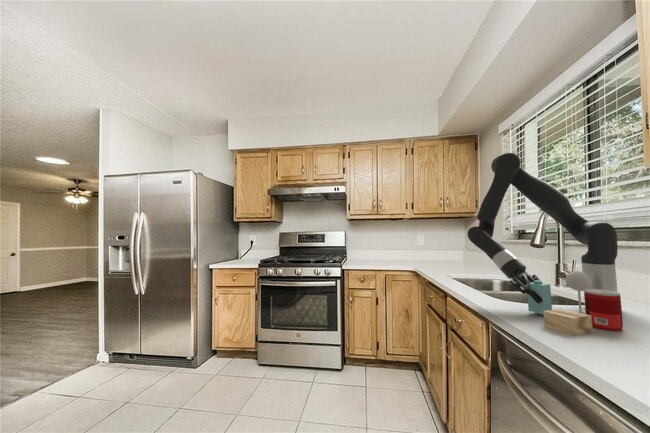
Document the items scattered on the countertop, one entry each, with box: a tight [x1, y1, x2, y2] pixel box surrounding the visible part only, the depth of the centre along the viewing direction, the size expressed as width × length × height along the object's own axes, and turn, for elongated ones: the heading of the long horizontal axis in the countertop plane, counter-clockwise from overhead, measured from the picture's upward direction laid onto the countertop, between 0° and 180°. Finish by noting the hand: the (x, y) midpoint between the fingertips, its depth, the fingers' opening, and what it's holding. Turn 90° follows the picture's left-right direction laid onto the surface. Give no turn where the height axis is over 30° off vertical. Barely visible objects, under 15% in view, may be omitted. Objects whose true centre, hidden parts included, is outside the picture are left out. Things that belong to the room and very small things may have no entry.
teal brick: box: [526, 280, 553, 315], centre depth 97 cm, size 5×5×11 cm
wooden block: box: [543, 308, 593, 336], centre depth 82 cm, size 8×8×5 cm
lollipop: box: [565, 270, 592, 314], centre depth 99 cm, size 7×7×15 cm
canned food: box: [583, 289, 624, 332], centre depth 84 cm, size 8×8×11 cm
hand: (545, 300), depth 96 cm, fingers closed on teal brick, 5 cm apart
